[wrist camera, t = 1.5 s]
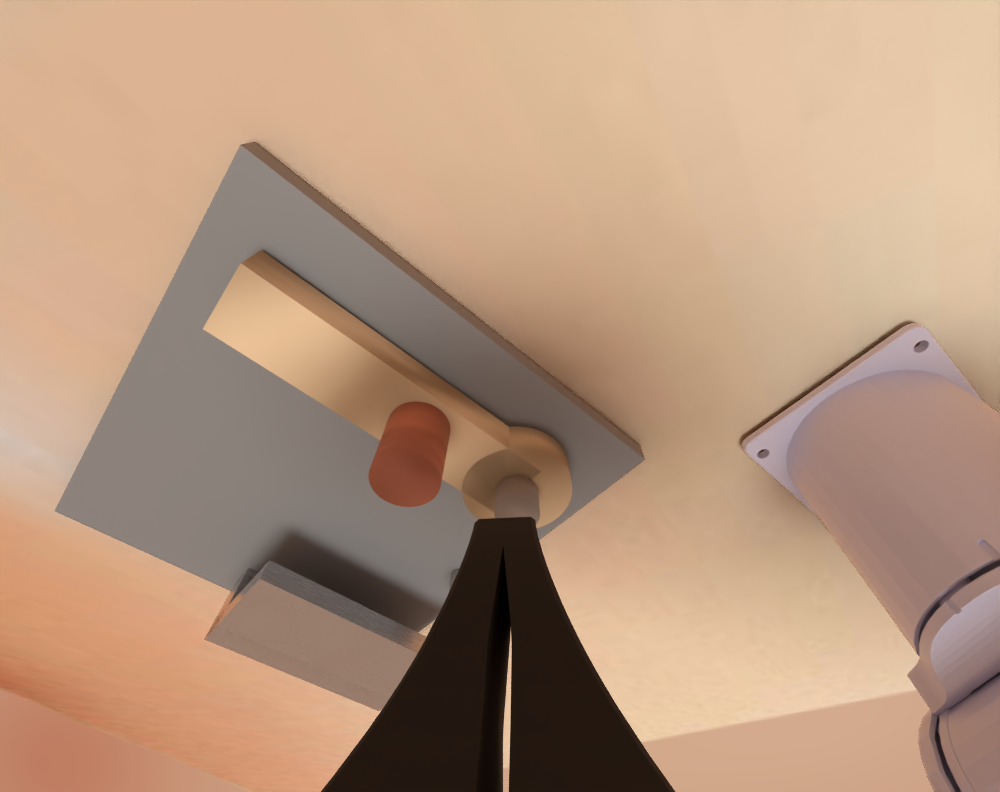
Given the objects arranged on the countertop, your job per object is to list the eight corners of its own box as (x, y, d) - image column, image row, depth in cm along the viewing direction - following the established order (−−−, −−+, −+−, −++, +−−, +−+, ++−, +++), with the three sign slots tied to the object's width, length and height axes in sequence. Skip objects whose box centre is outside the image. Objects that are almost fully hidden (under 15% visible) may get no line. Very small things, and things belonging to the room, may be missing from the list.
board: (639, 445, 22) (662, 508, 19) (385, 643, 31) (370, 712, 28) (255, 141, 16) (186, 155, 13) (70, 496, 25) (0, 561, 21)
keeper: (452, 591, 28) (444, 665, 25) (394, 637, 31) (378, 710, 27) (296, 507, 25) (259, 578, 21) (245, 566, 27) (204, 639, 24)
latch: (590, 465, 22) (607, 545, 18) (520, 521, 23) (522, 604, 20) (271, 231, 16) (199, 274, 13) (215, 327, 18) (138, 389, 15)
